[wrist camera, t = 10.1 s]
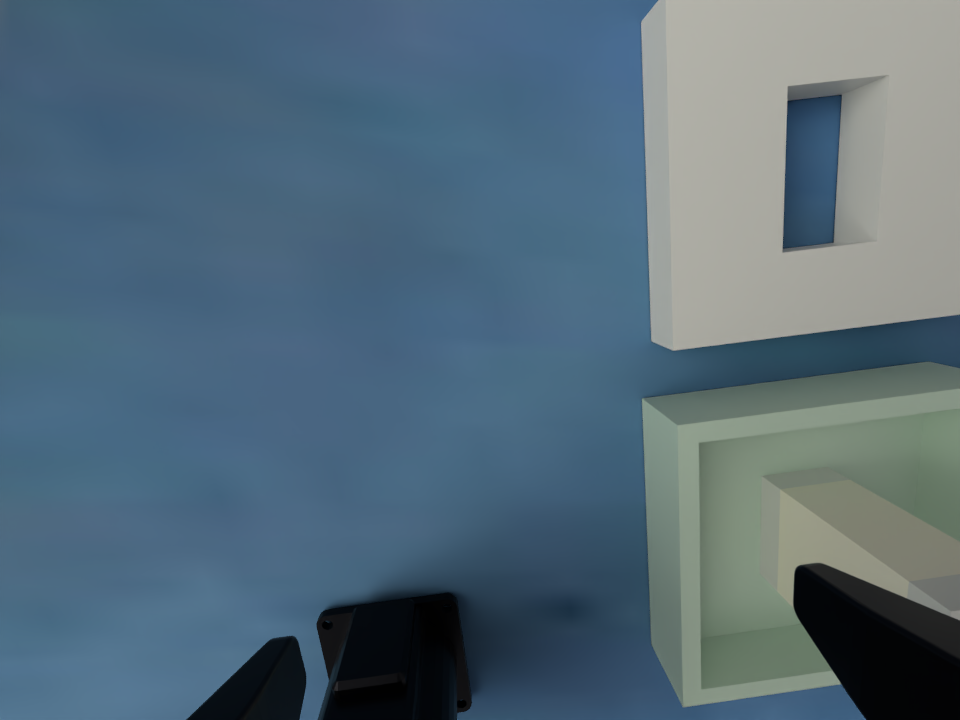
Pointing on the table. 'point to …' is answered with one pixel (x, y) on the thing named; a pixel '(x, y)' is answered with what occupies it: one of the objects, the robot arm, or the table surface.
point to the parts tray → (737, 509)
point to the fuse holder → (761, 165)
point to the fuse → (854, 539)
